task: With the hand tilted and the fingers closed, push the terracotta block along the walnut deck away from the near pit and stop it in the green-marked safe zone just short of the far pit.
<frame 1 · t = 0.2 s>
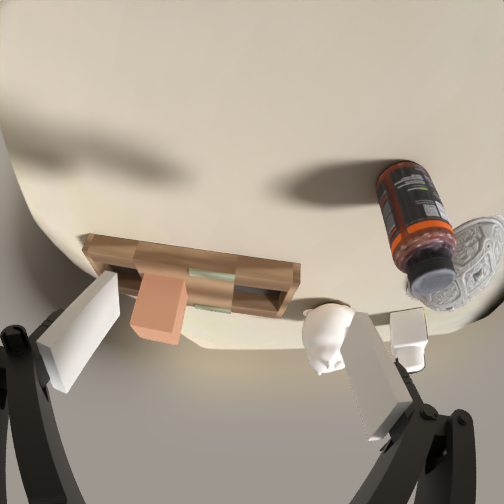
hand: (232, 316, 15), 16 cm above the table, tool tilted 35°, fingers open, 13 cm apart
block: (166, 285, 42), point 3 cm above the table, touching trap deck
figurine: (327, 306, 50), on the table
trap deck: (190, 271, 43), on the table
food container: (455, 263, 36), on the table
supplement bottle: (402, 180, 25), on the table
medicine bottle: (405, 315, 51), on the table
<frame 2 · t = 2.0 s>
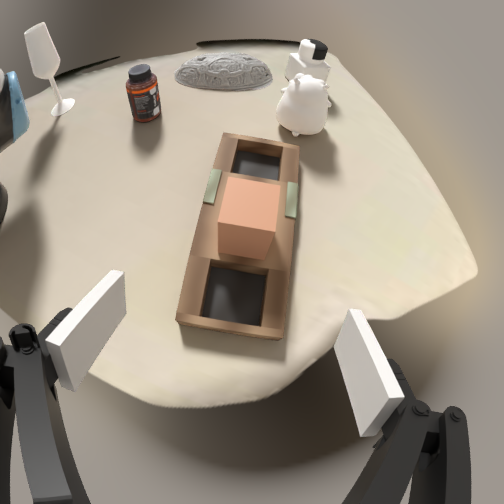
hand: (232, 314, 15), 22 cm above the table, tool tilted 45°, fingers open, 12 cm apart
block: (244, 235, 38), point 3 cm above the table, touching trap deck
figurine: (297, 127, 52), on the table
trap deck: (246, 226, 42), on the table
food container: (223, 76, 58), on the table
supplement bottle: (147, 114, 50), on the table
medicine bottle: (303, 83, 59), on the table
champagne flute: (62, 107, 50), on the table
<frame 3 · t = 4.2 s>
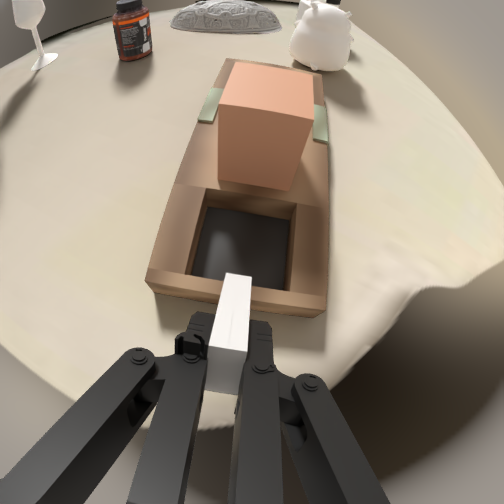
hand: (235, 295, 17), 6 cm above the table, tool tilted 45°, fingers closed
block: (257, 159, 25), point 3 cm above the table, touching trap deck
figurine: (314, 66, 39), on the table
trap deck: (257, 157, 29), on the table
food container: (225, 23, 45), on the table
supplement bottle: (136, 55, 37), on the table
medicine bottle: (316, 33, 46), on the table
champagne flute: (44, 62, 37), on the table
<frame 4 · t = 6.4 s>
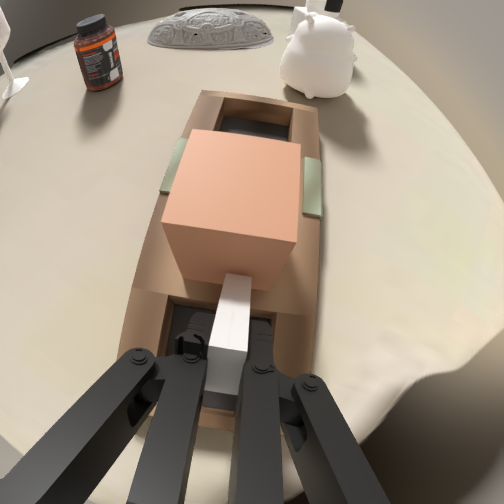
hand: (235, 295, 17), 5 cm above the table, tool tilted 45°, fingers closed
block: (231, 245, 21), point 3 cm above the table, touching gripper
figurine: (309, 90, 35), on the table
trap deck: (235, 231, 25), on the table
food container: (209, 36, 41), on the table
supplement bottle: (105, 82, 33), on the table
medicine bottle: (312, 44, 42), on the table
champagne flute: (15, 88, 33), on the table
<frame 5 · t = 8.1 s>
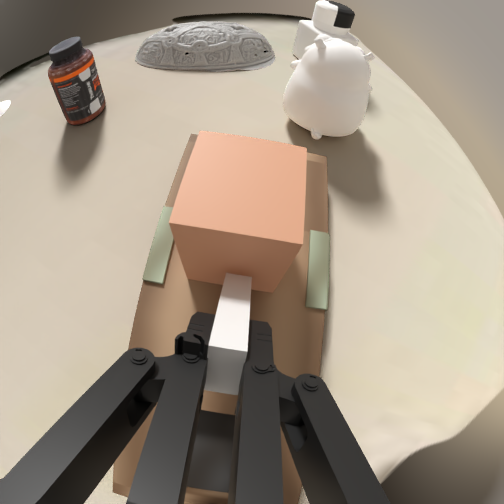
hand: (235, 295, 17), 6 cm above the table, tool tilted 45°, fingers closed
block: (236, 246, 21), point 3 cm above the table, touching gripper
figurine: (316, 125, 32), on the table
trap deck: (230, 318, 22), on the table
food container: (204, 53, 38), on the table
supplement bottle: (87, 113, 30), on the table
medicine bottle: (319, 63, 39), on the table
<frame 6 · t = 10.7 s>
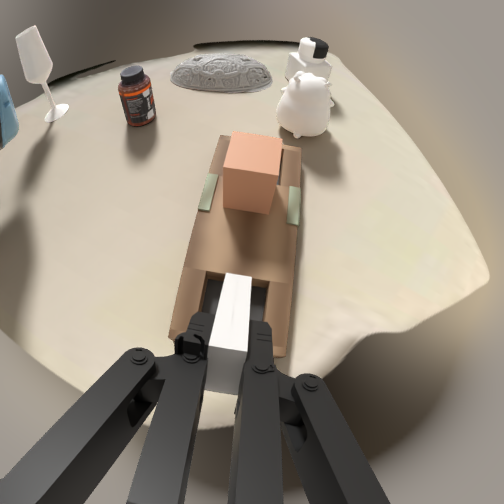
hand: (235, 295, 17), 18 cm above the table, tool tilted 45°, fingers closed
block: (249, 192, 38), point 3 cm above the table, touching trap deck
figurine: (298, 129, 49), on the table
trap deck: (245, 234, 39), on the table
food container: (220, 77, 56), on the table
supplement bottle: (141, 118, 48), on the table
medicine bottle: (304, 83, 57), on the table
champagne flute: (56, 113, 49), on the table
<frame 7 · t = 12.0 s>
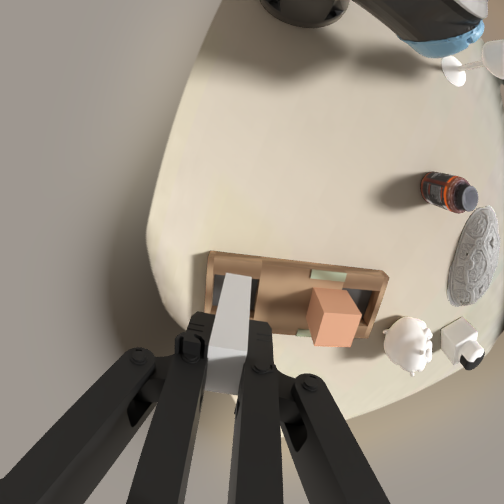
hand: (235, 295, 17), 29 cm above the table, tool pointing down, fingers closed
block: (326, 304, 47), point 3 cm above the table, touching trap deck
figurine: (396, 329, 54), on the table
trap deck: (295, 295, 50), on the table
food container: (473, 257, 49), on the table
supplement bottle: (431, 187, 43), on the table
medicine bottle: (451, 332, 55), on the table
champagne flute: (453, 70, 35), on the table
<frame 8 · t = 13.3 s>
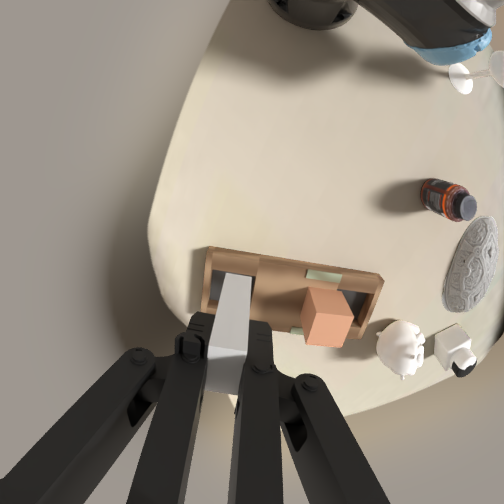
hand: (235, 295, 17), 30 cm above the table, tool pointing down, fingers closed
block: (320, 303, 48), point 3 cm above the table, touching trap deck
figurine: (390, 332, 55), on the table
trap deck: (291, 293, 51), on the table
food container: (470, 265, 49), on the table
supplement bottle: (431, 193, 44), on the table
medicine bottle: (445, 338, 56), on the table
champagne flute: (460, 78, 35), on the table
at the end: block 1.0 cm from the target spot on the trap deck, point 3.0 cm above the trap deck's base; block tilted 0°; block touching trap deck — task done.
